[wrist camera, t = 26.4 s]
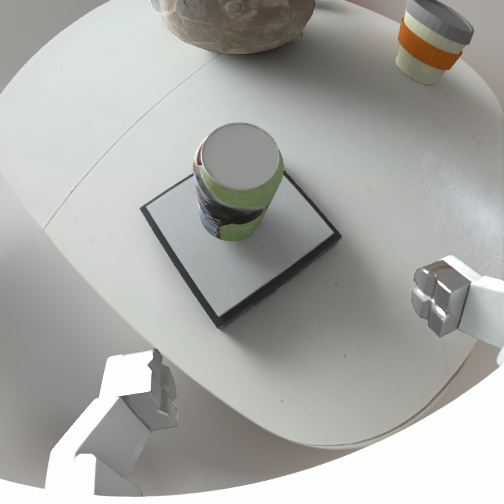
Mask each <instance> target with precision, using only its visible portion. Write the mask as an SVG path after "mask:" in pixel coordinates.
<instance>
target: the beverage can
mask: <svg viewBox="0 0 504 504" xmlns="http://www.w3.org/2000/svg"><path fill="white" fill-rule="evenodd" d="M283 171H284V165H283V159H282V156H281V153H280V151H279V149H278V147H277V144H276V142H275V141H274V139H273V138H272V137H271V136H270V135H269V134H268V133H267V132H266V131H265V130H263V129H261V128H260V127H257V126H255V125H252V124H249V123H242V122H238V123H229V124H226V125H222V126H220V127H218V128H217V129H215V130H214V131H212V132H211V133H210V134H209V135H208V136H207V137H206V138H205V140H204V141H203V142H202V143H201V144H200V146H199V147H198V149H197V151H196V153H195V156H194V161H193V172H194V180H195V187H196V194H197V201H198V208H199V215H200V219H201V222H202V224H203V226H204V227H205V229H206V230H207V231H208V232H209V233H210V234H211V235H213V236H214V237H216V238H218V239H221V240H224V241H239V240H243V239H245V238H247V237H249V236H250V235H252V234H253V233H254V232H255V231H256V230H257V229H258V227H259V226H260V224H261V222H262V219H263V217H264V215H265V213H266V211H267V209H268V207H269V205H270V203H271V201H272V199H273V197H274V195H275V193H276V191H277V189H278V187H279V185H280V183H281V181H282V177H283Z"/></svg>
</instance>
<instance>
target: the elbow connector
mask: <svg viewBox="0 0 504 504" xmlns="http://www.w3.org/2000/svg"><path fill="white" fill-rule="evenodd" d="M150 3H151V5H152V7H153V8H154V9H156V10H157V11H159V12H161V6H160V0H150Z"/></svg>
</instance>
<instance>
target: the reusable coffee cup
mask: <svg viewBox="0 0 504 504" xmlns="http://www.w3.org/2000/svg"><path fill="white" fill-rule="evenodd" d="M405 9H406V13H405V17H403V18H402V21H401V26H400V31H399V36H398V41H399V46H398V51H397V55H396V59H395V61H396V64H397V66H398V67H399V69H400V70H401V71H402V72H403V73H405V74H406V75H407V76H409V77H410V78H412V79H413V80H415V81H417V82H420V83H422V84H426V85H433V84H435V83H436V82H437V81H438V79H439V78H440V77H441V76H442V75H443V73H444V72H445V71H446V70H449V69H450V68H451V67H452V66H453V65H454V63H455V62H456V61H457V60H458V58H459V57H460V56H461V55H462V49H463V48H464V47H465V46H466V45H468V44H470V41H471V38H472V36H473V33H474V29H473V27H472V26H471V24H470V23H469V22H468V21H467V20H465V18H463V17H462V16H461V15H460V14H458V13H457V12H455V11H454V10H452V9H451V8H449V7H448V6H446V5H444V4H442V3H441V2H439V1H436V0H408V1H407V3H406V5H405Z"/></svg>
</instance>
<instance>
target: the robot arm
mask: <svg viewBox="0 0 504 504" xmlns="http://www.w3.org/2000/svg"><path fill="white" fill-rule="evenodd" d="M414 282H415V283H416V284H417V285H416V286H415V288H414V290H413V291H412V304H413V308H414V310H415V312H416V313H417V314H418V315H419V316H420V318H423V319H426V320H428V326H429V327H430V328H431V329H432V330H433V331H434V333H435V334H436V335H437V336H438V337H439V338H441V337H442V336H444V335H446V334H448V333H450V332H452V331H454V330H456V329H458V330H460V331H462V332H464V333H466V334H469V335H471V336H473V337H475V338H477V339H480V340H482V341H484V342H486V343H489V344H491V345H493V346H495V347H498V348H500V349H501V350H500V353H499V355H498V357H497V360H496V362H497V364H498V365H499V366H500V367H499V368H498V369H497V370H495V371H494V372H493V373H491V374H490V375H489V376H488V377H486V378H485V379H484V380H482V381H481V382H480V383H478V384H477V385H475V386H474V387H473V388H471V389H470V390H468V391H467V392H465V393H464V394H463V395H461V396H460V397H458V398H457V399H455V400H454V401H452V402H451V403H449V404H447V405H446V406H444V407H443V408H441V409H439V410H438V411H436V412H434V413H433V414H431V415H429V416H428V417H426V418H424V419H422V420H421V421H419V422H417V423H415V424H413V425H412V426H410V427H408V428H406V429H404V430H402V431H400V432H398V433H396V434H394V435H392V436H390V437H388V438H386V439H384V440H382V441H379V442H377V443H375V444H373V445H371V446H368V447H366V448H364V449H361V450H359V451H357V452H354V453H352V454H349V455H347V456H344V457H341V458H339V459H336V460H333V461H331V462H328V463H325V464H322V465H319V466H316V467H313V468H310V469H307V470H304V471H301V472H298V473H294V474H290V475H287V476H283V477H279V478H276V479H272V480H268V481H263V482H259V483H255V484H250V485H245V486H240V487H235V488H229V489H223V490H216V491H209V492H202V493H193V494H184V495H171V496H152V497H143V492H142V489H140V487H138V486H137V485H135V484H134V483H132V482H131V481H129V480H127V477H128V475H129V473H130V471H131V469H132V468H133V466H134V464H135V462H136V460H137V459H138V457H139V455H140V453H141V451H142V449H143V448H144V446H145V444H146V442H147V440H148V438H149V436H150V435H151V431H155V430H161V429H167V428H173V427H177V426H178V423H177V408H176V406H175V405H174V403H173V401H174V399H175V398H176V396H177V395H176V386H175V381H174V378H173V375H172V373H171V371H170V369H169V368H168V367H167V366H165V365H163V364H162V358H163V357H162V355H161V354H160V352H159V351H158V349H155V348H154V349H149V350H143V351H137V352H132V353H126V354H122V355H116V356H110V357H109V358H108V359H107V363H106V367H105V372H104V377H103V381H102V386H101V392H100V397H99V399H95V400H94V401H93V402H92V403H91V405H90V406H89V407H88V408H87V409H86V411H85V412H84V413H83V414H82V415H81V416H80V417H79V419H78V420H77V421H76V422H75V423H74V425H73V426H72V427H71V428H70V429H69V430H68V432H67V433H66V434H65V435H64V437H63V438H62V439H61V440H60V441H59V442H58V444H57V445H56V446H55V447H54V449H53V450H52V451H51V454H50V459H49V466H48V471H47V477H46V484H45V489H41V488H36V487H31V486H27V485H22V484H18V483H13V482H10V481H6V480H2V479H0V504H504V280H501V279H497V278H492V277H488V276H484V277H482V276H480V275H479V274H478V273H476V272H475V271H474V270H472V269H471V268H470V267H468V266H467V265H466V264H464V263H463V262H461V261H460V260H459V259H457V258H456V257H454V256H451V255H449V256H447V257H445V258H442V259H440V260H439V261H436V262H434V263H431V264H429V265H426V266H424V267H421V268H419V269H417V270H416V272H415V274H414Z"/></svg>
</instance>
